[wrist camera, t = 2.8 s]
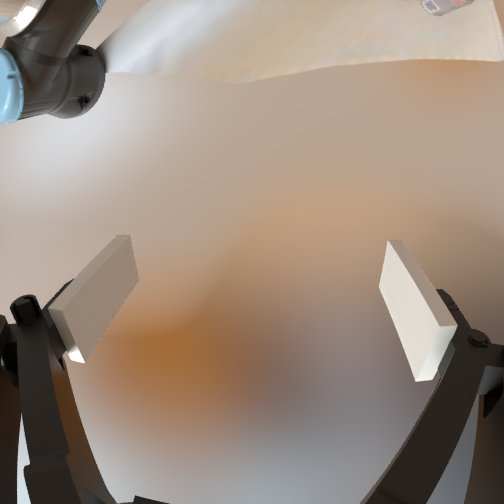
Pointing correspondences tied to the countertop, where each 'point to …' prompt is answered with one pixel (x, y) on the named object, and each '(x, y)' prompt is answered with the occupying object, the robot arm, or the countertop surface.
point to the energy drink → (443, 5)
